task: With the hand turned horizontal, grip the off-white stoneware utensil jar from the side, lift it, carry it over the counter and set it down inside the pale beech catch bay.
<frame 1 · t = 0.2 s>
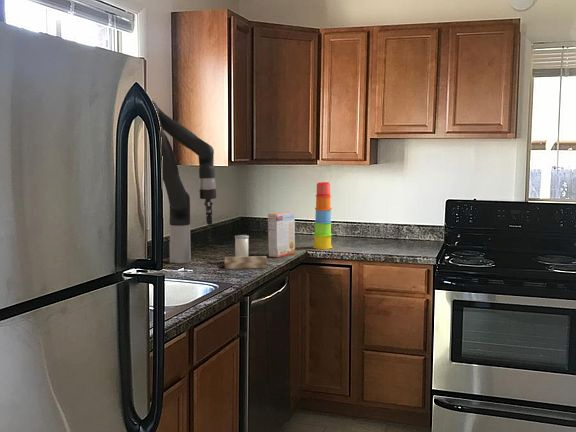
hand: (209, 223, 283), 18 cm above the worktop, tool pointing down, fingers open, 8 cm apart
utensil jar: (241, 261, 285), on the worktop
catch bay: (245, 266, 274), on the worktop
cracker box: (281, 255, 303), on the worktop
stacking cups: (322, 248, 327), on the worktop
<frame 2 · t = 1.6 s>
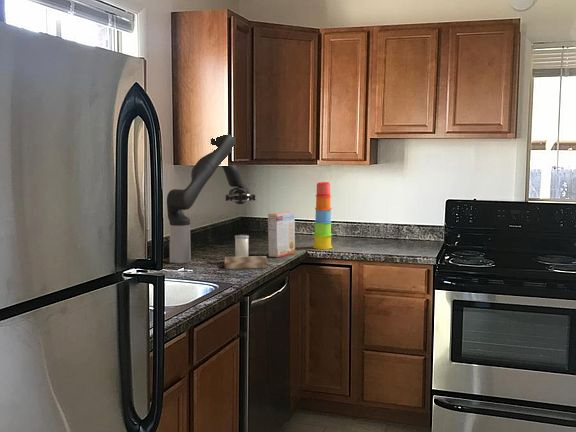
hand: (240, 198, 293), 28 cm above the worktop, tool horizontal, fingers open, 8 cm apart
nothing on the worktop moved.
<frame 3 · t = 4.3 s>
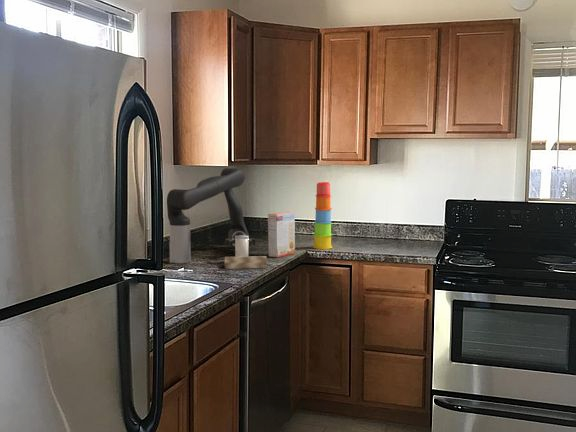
hand: (240, 243, 293), 7 cm above the worktop, tool horizontal, fingers open, 8 cm apart
nothing on the worktop moved.
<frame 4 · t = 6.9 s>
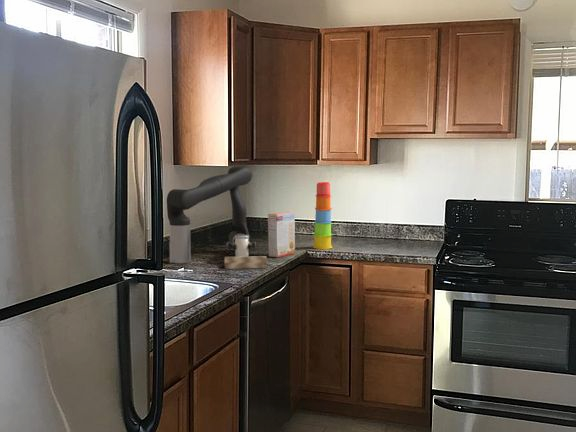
hand: (242, 247, 282), 7 cm above the worktop, tool horizontal, fingers closed on utensil jar, 6 cm apart
utensil jar: (241, 261, 285), on the worktop, touching gripper
everything else where it was.
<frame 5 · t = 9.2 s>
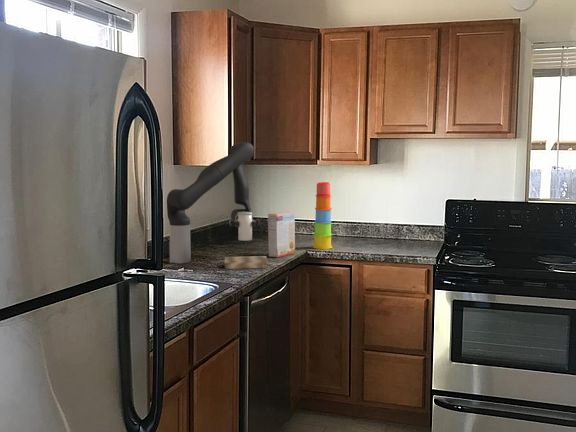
hand: (245, 224, 270), 19 cm above the worktop, tool horizontal, fingers closed on utensil jar, 6 cm apart
utensil jar: (245, 239, 273), point 12 cm above the worktop, touching gripper
everything else where it was.
when the fingers open (9 cm above the worktop, at t = 11.6 s): utensil jar drops 2 cm, on the worktop.
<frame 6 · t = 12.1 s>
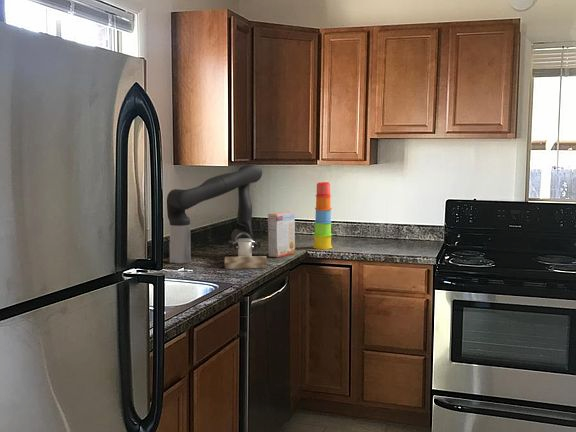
hand: (245, 246, 271), 9 cm above the worktop, tool horizontal, fingers open, 8 cm apart
utensil jar: (245, 266, 274), on the worktop
everything else where it was.
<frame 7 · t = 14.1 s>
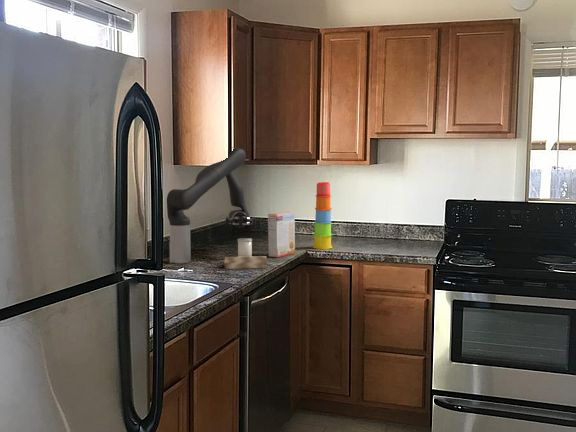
hand: (241, 222, 286), 18 cm above the worktop, tool horizontal, fingers open, 8 cm apart
nothing on the worktop moved.
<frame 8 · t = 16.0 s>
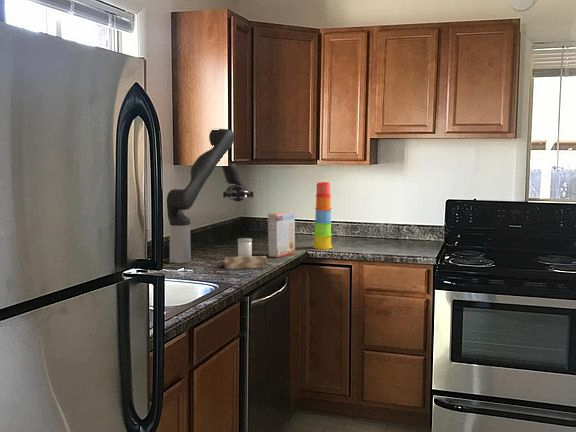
hand: (238, 195, 290), 30 cm above the worktop, tool horizontal, fingers open, 8 cm apart
nothing on the worktop moved.
at the end: utensil jar inside the target area (0.2 cm from its centre), on the worktop; utensil jar tilted 0°; the gripper is holding nothing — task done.
